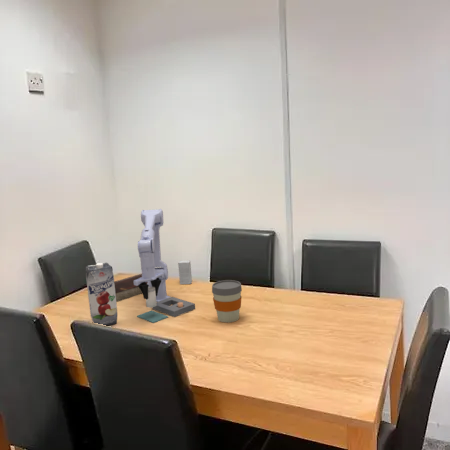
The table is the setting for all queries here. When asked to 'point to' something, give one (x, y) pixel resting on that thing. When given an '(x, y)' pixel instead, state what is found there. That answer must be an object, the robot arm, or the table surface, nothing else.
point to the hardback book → (127, 288)
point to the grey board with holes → (173, 306)
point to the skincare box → (185, 272)
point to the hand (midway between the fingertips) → (150, 297)
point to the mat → (152, 316)
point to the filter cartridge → (151, 297)
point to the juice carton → (101, 293)
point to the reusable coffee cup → (227, 299)
